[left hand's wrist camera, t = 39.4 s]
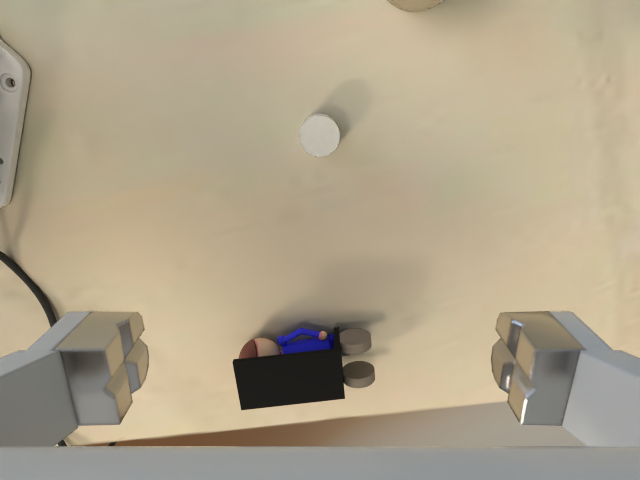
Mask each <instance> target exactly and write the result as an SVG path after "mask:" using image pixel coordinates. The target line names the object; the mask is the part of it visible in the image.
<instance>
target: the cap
mask: <svg viewBox="0 0 640 480" xmlns="http://www.w3.org/2000/svg"><path fill="white" fill-rule="evenodd" d="M299 137H300V143H301V145H302V147H303V149H304V150H305V151H306V152H307V153H309V154H310V155H312V156H316V157H324V156H327V155H329V154H331V153H332V152H333V151H334V150H335V149H336V148H337V146H338V144H339V141H340V131H339V128H338V125H337V123H336V122H335V121H334V119H333V118H331V117H330V116H328V115H326V114H314V115H311V116H310V117H308V118H307V119H306V120H305V121H304V123H303V124H302V127H301V130H300V136H299Z"/></svg>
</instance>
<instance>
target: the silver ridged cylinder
mask: <svg viewBox="0 0 640 480" xmlns="http://www.w3.org/2000/svg"><path fill="white" fill-rule="evenodd" d="M388 1H389V2H390V3H391V4H393V5H394V6H396V7H397V8H400V9H402V10H405V11H411V12H418V11H424V10H427V9H430V8H432V7H434V6H436V5H438V4H439V3H441V2H443V1H444V0H388Z"/></svg>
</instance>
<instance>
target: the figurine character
mask: <svg viewBox="0 0 640 480" xmlns="http://www.w3.org/2000/svg"><path fill="white" fill-rule="evenodd" d="M301 334H303V335H308V336H312V337H317V338H311V339H305V340H299V341H292V342H288V341H290V340H292V339H294V338H296V337H298V336H299V335H301ZM328 337H329V338H328ZM277 342H278V344H279V345H280V346H282V349H283V352H280V350H279V348H278V346H277V345H276V344H275V343H274V342H273V341H271V340H269V339H266V338H256V339H253V340H251V341H249V342H248V343H247V344H245V346H244V347H243V348H242V350H241V352H240V355H239V359H234V360H233V367H234V372H235V378H236V383H237V389H238V394H239V400H240V405H241V410H247V409H256V408H265V407H274V406H283V405H292V404H301V403H310V402H319V401H328V400H337V399H345V394H344V383H345V384H346V385H347V386H349V387H352V388H363V387H367V386H369V385H371V384H372V383H373V382H374V380H375V372H374V367H373V365H372V364H370V363H368V362H364V361H355V362H351V363H348V364H346V365H345V366H344V367H343V366H342V356H347V355H351V354H361V353H364V352H366V351H368V350H369V349H370V348H371V334H370V333H369V332H368V331H366V330H364V329H356V328H355V329H342V330H339V327H335V328H334V331H329V332H327V333H326V332H325V331H321V332H319V331H314V330H309V329H304V328H299V329H297V330H296V331H294V332H292V333H290V334H288V335H287V336H285V337H284V336H279V337H278V338H277Z"/></svg>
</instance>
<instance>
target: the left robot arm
mask: <svg viewBox="0 0 640 480" xmlns="http://www.w3.org/2000/svg"><path fill="white" fill-rule="evenodd" d="M30 77H31V73H30V68H29V66H28V64H27V63H26V62H25V61H24V59H23V58H22V57H21V56H20V55H18V54H17V53H16V52H15V51H14V50H13V49H12V48H10V47H9V46H8V45H7V44H5V43H4V42H3V40H2V39H1V38H0V208H2V207H4V206H6V205H8V204H9V203H10V201H11V197H12V191H13V185H14V179H15V172H16V166H17V160H18V153H19V147H20V141H21V134H22V128H23V121H24V115H25V109H26V102H27V96H28V90H29V83H30ZM11 79H13V80H14V82H15V86H14V87H13V86H12V85H11ZM0 260H1V261H3V262H4V263H5V264H6V265H7V266H8V267H9V268H10V269H11V270H13V271H14V272H15V273H16V274H17V275H18V276H19V277H20V278H21V279H22V280H23V281H24V282H25V284H26V285H27V286H28V287H29V288H30V289H31V291H32V292H33V293H34V294H35V296H36V297H37V299H38V300H39V302H40V303H41V305H42V307H43V309H44V311H45V313H46V315H47V317H48V320H49V323H50V326H51V328H50V329H49V330H48V331H47V332H46V333H45V334H44V335H42V336H41V337H40V338H39V339H38V340H37V341H36V342H35V343H34V344H33V345H32V346H31V347H30V348H29V349H27V350H19V351H17V352H14V353H12V354H9V355H7V356H4V357H2V358H0V480H640V358H638V357H636V356H633V355H631V354H628V353H626V352H623V351H621V350H613V349H612V348H610V347H609V346H608V345H607V344H606V343H605V342H604V341H603V340H602V339H601V338H600V337H599V336H598V335H597V334H595V333H594V332H593V331H592V330H591V329H590V328H589V327H588V326H587V325H586V324H585V323H584V322H583V321H582V320H580V319H579V318H578V317H577V316H576V315H575V314H574V313H573V312H570V311H536V312H504V313H500V314H499V317H498V319H497V323H496V329H495V330H496V331H497V333H498V334H499V336H500V337H501V338H500V339H499V340H498V341H497V342H496V343H495V344H494V345H493V347H492V356H491V364H492V372H493V375H494V378H495V381H496V383H497V385H498V386H499V388H500V389H502V390H503V391H505V392H507V393H508V394H509V396H508V401H507V402H508V404H509V406H510V407H511V409H512V411H513V413H514V414H515V416H516V418H517V419H518V421H519V423H520V424H521V425H555V426H562V428H563V429H565V430H566V431H567V432H568V433H570V434H571V435H572V436H574V437H575V438H576V439H578V440H579V441H580V442H582V443H583V444H584V445H586V446H547V447H546V446H536V447H535V446H523V447H522V446H516V447H515V446H513V447H512V446H507V447H506V446H503V447H502V446H494V447H493V446H489V447H488V446H468V447H467V446H464V447H463V446H454V447H453V446H451V447H450V446H444V447H443V446H439V447H438V446H434V447H433V446H411V447H410V446H406V447H405V446H394V447H393V446H384V447H383V446H375V447H374V446H366V447H364V446H362V447H361V446H357V447H356V446H349V447H348V446H337V447H336V446H330V447H329V446H322V447H321V446H315V447H314V446H309V447H308V446H307V447H306V446H305V447H304V446H303V447H299V446H298V447H297V446H292V447H291V446H282V447H281V446H268V447H267V446H266V447H265V446H264V447H262V446H257V447H255V446H241V447H240V446H239V447H238V446H224V447H223V446H114V445H115V444H116V443H117V441H114V442H110V444H109V445H108V446H67V445H66V443H65V442H64V440H63V439H64V438H65V437H66V436H68V435H69V434H70V433H72V432H73V431H74V430H76V429H77V428H78V426H85V425H120V423H121V421H122V419H123V418H124V416H125V414H126V413H127V411H128V409H129V407H130V406H131V404H132V402H133V401H132V396H131V394H132V393H133V392H135V391H137V390H138V389H140V388H141V386H142V384H143V383H144V381H145V379H146V375H147V371H148V367H149V354H148V347H147V345H146V344H145V343H144V342H143V341H142V340H141V339H140V338H139V337H140V336H141V334H142V333H143V331H144V330H145V329H144V324H143V319H142V316H141V315H140V314H139V313H138V312H112V311H72V312H67V313H66V314H65V315H64V316H63V317H62V318H61V319H60V320H59V321H58V322H57V320H56V317H55V315H54V312H53V310H52V308H51V306H50V304H49V302H48V301H47V299H46V297H45V296H44V294H43V293H42V291H41V290H40V289H39V287H38V286H37V285H36V284H35V283H34V282H33V281H32V280H31V279H30V278H29V277H28V276H27V275H26V274H25V272H24V271H23V270H22V269H21V268H20V267H19V266H18V265H17V264H16V263H15V262H14V261H13V260H11V259H10V258H9V257H8V256H7V255H6V254H4V253H3V252H1V251H0ZM56 444H58V445H59V446H55V445H56Z"/></svg>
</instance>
